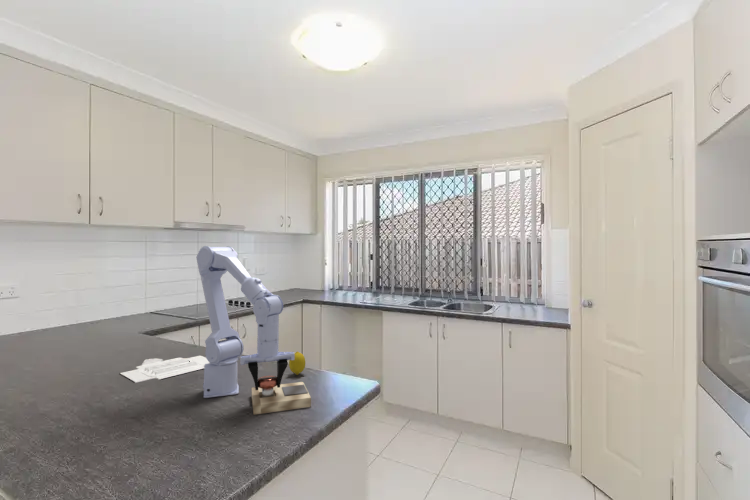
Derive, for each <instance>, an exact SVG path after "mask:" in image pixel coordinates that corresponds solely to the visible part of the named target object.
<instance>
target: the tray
mask: <svg viewBox="0 0 750 500" xmlns="http://www.w3.org/2000/svg"><path fill="white" fill-rule="evenodd" d="M189 361H190V362H189ZM208 363H209V361H208V360H207V358H206V356H203V355H196V356H191V357H187V358H183V357H176V358H171V359H165V360H164V359H163V358H156V357H154V358H152V357H151V358H149V359H147V358H146V359H145V360H144V361H142V364H141V365H137V366H135V369H133V370H132V369H131V370H129V371H123V372H120V373H119V375H120V374H121V375H122V376H123V377H126V378H127V379H130V381H133V382H134V383H135V384H136V383H140V382H144V381H145V382H146V381H148V380H152V379H155V380H159V381H160V380H162V379H166V378H170V377H174V376H178V375H183V374H186V373H191V372H195V371H197V370H198V371H199V370H202V369H203V370H204V367H205V364H208Z"/></svg>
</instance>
